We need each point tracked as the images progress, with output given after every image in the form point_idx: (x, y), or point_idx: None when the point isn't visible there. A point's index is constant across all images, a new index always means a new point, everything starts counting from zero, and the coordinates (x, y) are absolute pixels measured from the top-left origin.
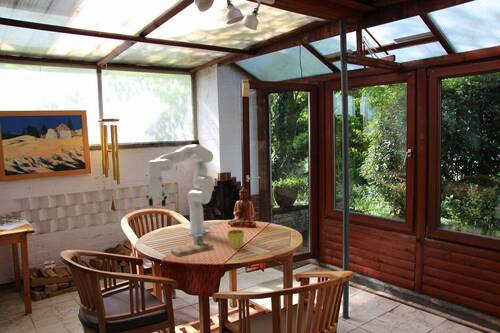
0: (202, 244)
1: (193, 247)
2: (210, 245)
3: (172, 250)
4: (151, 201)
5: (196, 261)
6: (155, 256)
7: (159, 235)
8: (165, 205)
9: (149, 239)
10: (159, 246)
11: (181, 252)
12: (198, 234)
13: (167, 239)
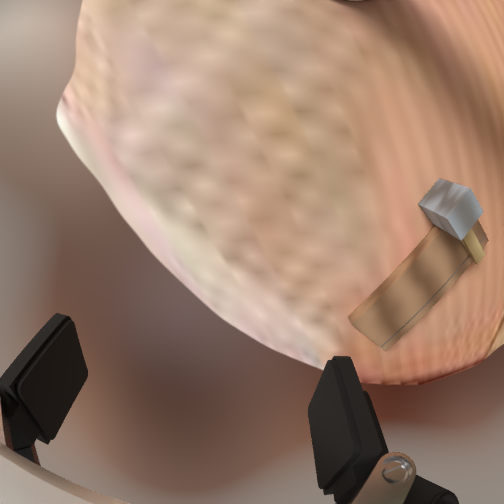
0: None
1: (433, 279)
2: (482, 243)
3: (359, 329)
4: (48, 393)
5: (435, 364)
6: (298, 357)
7: (136, 21)
8: (348, 358)
9: (118, 102)
10: (246, 225)
11: (396, 340)
12: (464, 198)
13: (222, 79)
